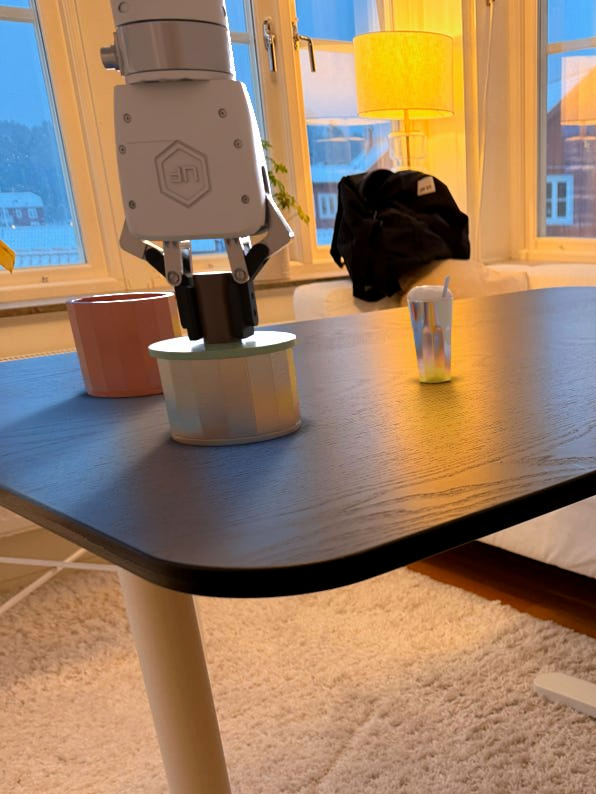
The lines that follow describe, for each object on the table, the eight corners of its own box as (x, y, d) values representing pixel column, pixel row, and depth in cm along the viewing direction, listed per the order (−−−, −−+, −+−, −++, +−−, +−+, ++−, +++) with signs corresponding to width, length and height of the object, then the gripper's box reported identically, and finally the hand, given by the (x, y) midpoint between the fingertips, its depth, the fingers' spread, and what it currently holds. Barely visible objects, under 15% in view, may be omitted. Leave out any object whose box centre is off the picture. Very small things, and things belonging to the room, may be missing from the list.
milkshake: (435, 387, 87) (428, 278, 83) (404, 381, 91) (396, 276, 86) (471, 380, 90) (466, 274, 85) (439, 374, 93) (433, 272, 89)
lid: (127, 371, 66) (108, 281, 63) (180, 348, 76) (166, 270, 73) (278, 365, 65) (266, 275, 62) (311, 343, 75) (301, 265, 72)
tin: (152, 448, 69) (135, 361, 66) (196, 418, 78) (182, 341, 75) (284, 443, 68) (272, 356, 65) (312, 415, 77) (303, 337, 75)
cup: (69, 399, 89) (46, 304, 85) (111, 380, 99) (93, 294, 95) (169, 395, 89) (151, 300, 85) (203, 377, 98) (187, 290, 94)
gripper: (38, 61, 59) (101, 348, 67) (280, 47, 58) (315, 340, 66) (87, 75, 65) (139, 335, 74) (305, 64, 65) (333, 328, 73)
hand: (222, 335), depth 70 cm, fingers closed on lid, 3 cm apart
